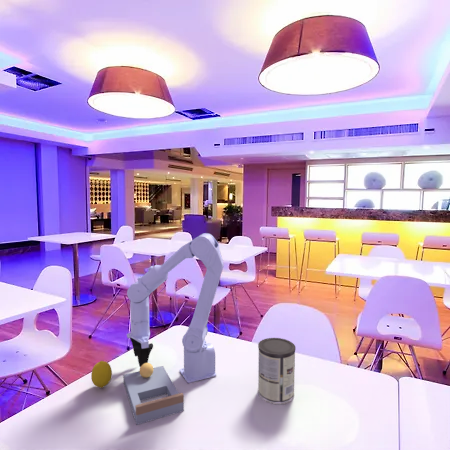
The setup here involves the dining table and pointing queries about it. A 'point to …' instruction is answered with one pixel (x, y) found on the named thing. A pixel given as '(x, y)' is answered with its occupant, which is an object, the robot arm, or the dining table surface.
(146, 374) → the ball
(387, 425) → the dining table surface
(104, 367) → the lemon
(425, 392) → the dining table surface
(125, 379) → the grey piece
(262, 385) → the coffee can
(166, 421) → the dining table surface
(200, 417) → the dining table surface
